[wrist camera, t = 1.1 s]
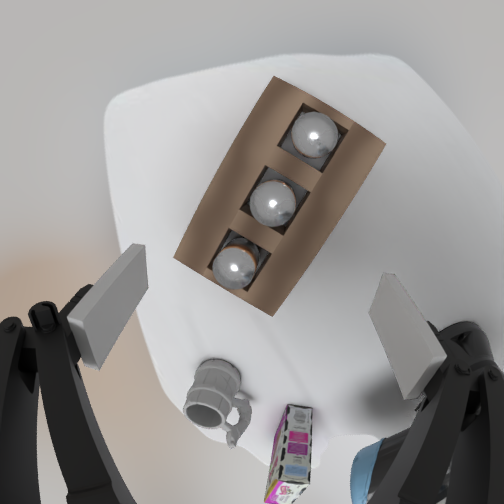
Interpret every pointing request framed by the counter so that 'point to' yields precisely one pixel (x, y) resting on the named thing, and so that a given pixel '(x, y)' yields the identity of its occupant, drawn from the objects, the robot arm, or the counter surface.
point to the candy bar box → (290, 457)
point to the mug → (217, 399)
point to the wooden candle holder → (316, 182)
